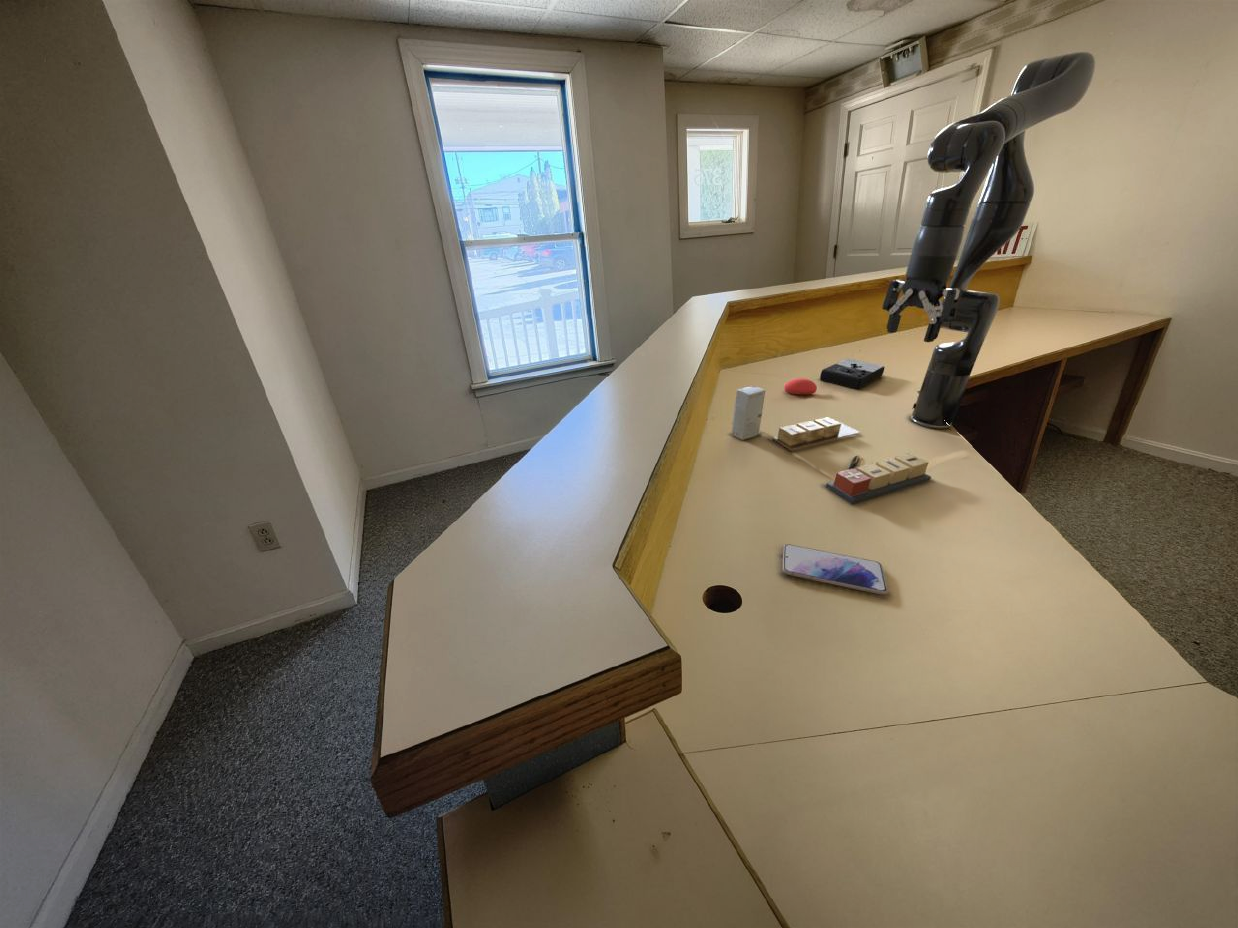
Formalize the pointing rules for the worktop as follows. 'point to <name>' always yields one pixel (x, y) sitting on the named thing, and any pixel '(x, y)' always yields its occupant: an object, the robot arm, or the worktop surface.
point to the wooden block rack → (888, 477)
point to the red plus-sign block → (852, 482)
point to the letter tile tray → (812, 432)
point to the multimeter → (852, 373)
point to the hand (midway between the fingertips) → (909, 336)
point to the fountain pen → (854, 462)
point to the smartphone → (834, 569)
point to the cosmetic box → (748, 412)
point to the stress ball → (800, 386)
